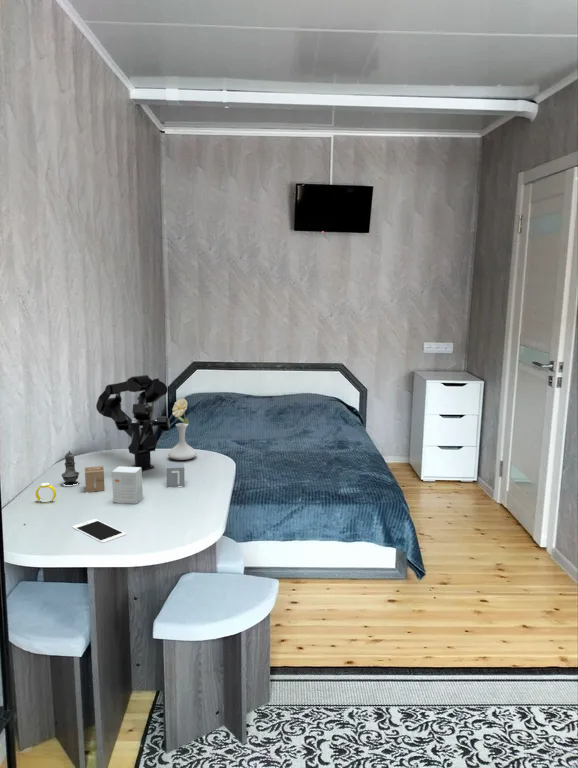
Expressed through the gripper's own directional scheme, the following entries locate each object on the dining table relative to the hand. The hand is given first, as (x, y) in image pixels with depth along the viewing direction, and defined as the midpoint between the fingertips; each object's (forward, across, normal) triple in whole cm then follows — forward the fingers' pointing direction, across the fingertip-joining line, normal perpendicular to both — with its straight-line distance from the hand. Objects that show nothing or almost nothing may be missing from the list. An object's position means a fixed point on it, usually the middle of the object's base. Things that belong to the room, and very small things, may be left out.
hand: (139, 444), depth 211 cm
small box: (+23, 0, -4) cm, 23 cm away
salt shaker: (+12, -23, +7) cm, 27 cm away
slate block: (+12, +13, +8) cm, 19 cm away
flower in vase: (-10, +10, +30) cm, 33 cm away
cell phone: (+40, -2, -20) cm, 45 cm away
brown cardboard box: (+16, -14, +4) cm, 21 cm away
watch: (+24, -25, -5) cm, 35 cm away
